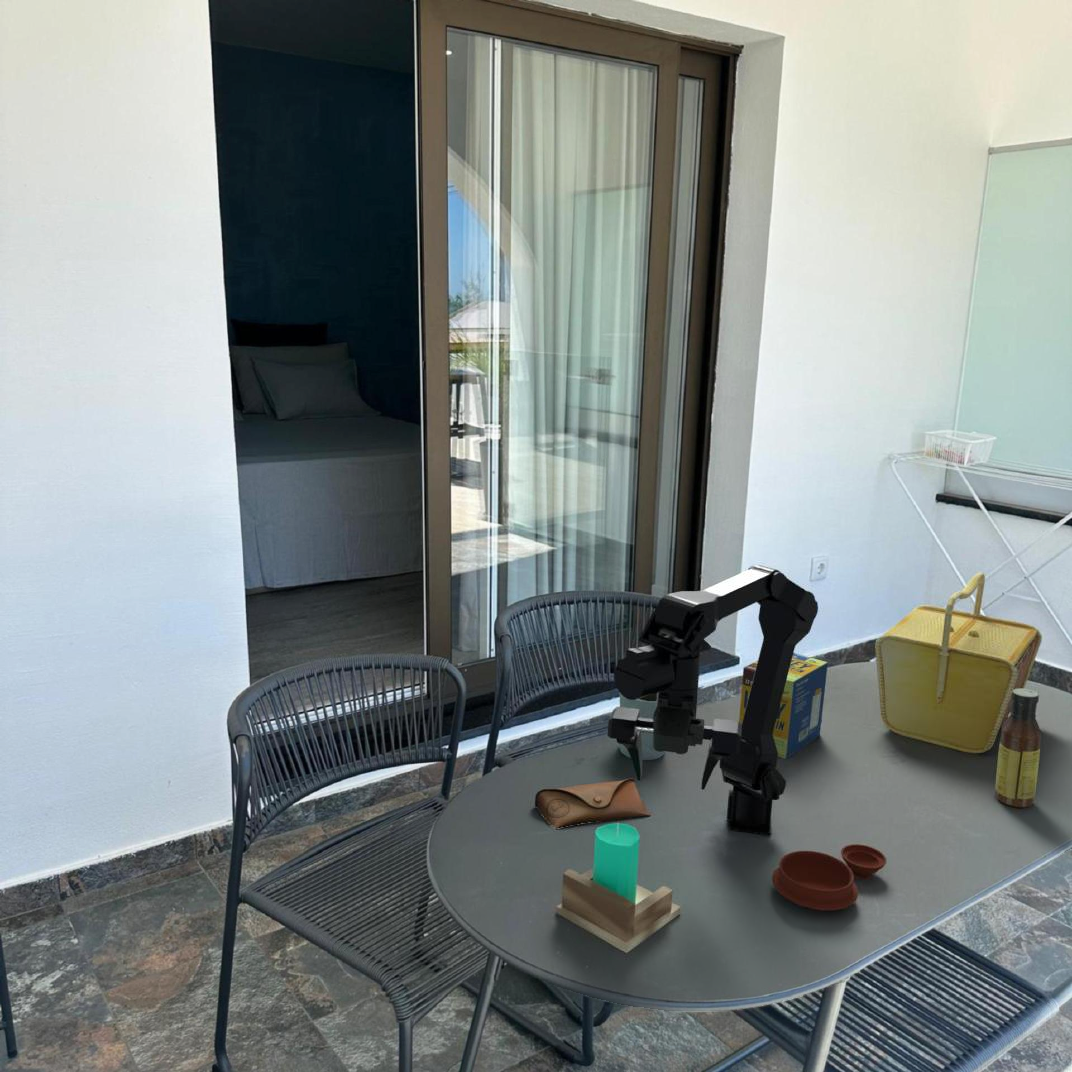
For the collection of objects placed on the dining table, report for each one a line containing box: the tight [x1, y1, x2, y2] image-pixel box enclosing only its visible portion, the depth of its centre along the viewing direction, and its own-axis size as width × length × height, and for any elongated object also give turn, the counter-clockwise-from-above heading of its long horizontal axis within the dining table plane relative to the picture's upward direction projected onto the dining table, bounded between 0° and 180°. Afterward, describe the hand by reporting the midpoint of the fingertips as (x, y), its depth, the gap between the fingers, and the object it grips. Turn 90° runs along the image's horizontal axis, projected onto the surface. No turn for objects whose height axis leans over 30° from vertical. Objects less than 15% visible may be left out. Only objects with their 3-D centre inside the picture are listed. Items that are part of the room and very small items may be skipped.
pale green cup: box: [618, 692, 666, 761], centre depth 181 cm, size 10×10×12 cm
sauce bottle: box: [994, 688, 1042, 808], centre depth 165 cm, size 6×6×20 cm
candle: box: [592, 822, 641, 903], centre depth 131 cm, size 6×6×12 cm
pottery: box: [771, 843, 887, 911], centre depth 139 cm, size 12×20×4 cm, turn 125°
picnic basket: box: [874, 571, 1043, 754], centre depth 195 cm, size 29×26×30 cm
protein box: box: [738, 652, 829, 760], centre depth 187 cm, size 10×15×16 cm
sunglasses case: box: [534, 778, 651, 830], centre depth 159 cm, size 18×7×7 cm
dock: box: [555, 867, 682, 954], centre depth 131 cm, size 12×12×6 cm
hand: (671, 784), depth 141 cm, fingers open, 9 cm apart
